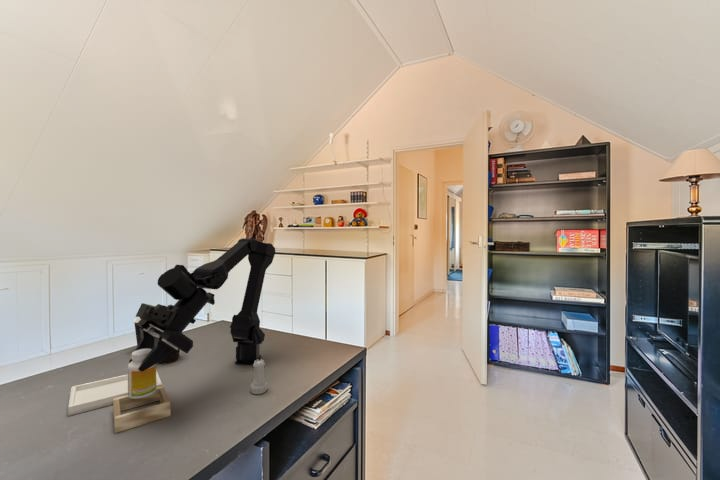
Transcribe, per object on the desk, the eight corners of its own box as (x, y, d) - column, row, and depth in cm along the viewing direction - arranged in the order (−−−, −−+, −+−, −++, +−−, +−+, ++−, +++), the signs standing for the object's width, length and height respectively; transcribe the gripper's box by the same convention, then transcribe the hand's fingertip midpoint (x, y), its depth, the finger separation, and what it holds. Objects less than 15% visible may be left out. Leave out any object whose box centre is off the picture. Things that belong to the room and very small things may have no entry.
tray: (155, 374, 91) (155, 368, 91) (161, 391, 82) (162, 384, 82) (71, 394, 80) (71, 386, 80) (68, 416, 71) (68, 407, 71)
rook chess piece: (270, 388, 85) (271, 359, 85) (260, 396, 81) (261, 365, 81) (257, 385, 87) (257, 356, 86) (246, 393, 82) (246, 363, 82)
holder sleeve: (163, 397, 79) (163, 385, 79) (170, 415, 72) (170, 402, 71) (113, 411, 73) (113, 398, 73) (114, 433, 65) (114, 418, 65)
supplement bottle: (161, 390, 74) (161, 349, 73) (137, 401, 69) (136, 358, 68) (147, 385, 76) (147, 345, 76) (122, 395, 71) (122, 353, 71)
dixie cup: (161, 344, 115) (161, 314, 115) (159, 352, 108) (159, 320, 108) (135, 347, 111) (135, 317, 111) (131, 355, 104) (131, 323, 104)
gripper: (146, 285, 80) (91, 339, 72) (178, 295, 69) (117, 361, 61) (179, 309, 87) (132, 362, 78) (213, 322, 75) (163, 385, 67)
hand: (135, 366), depth 71 cm, fingers closed on supplement bottle, 5 cm apart
